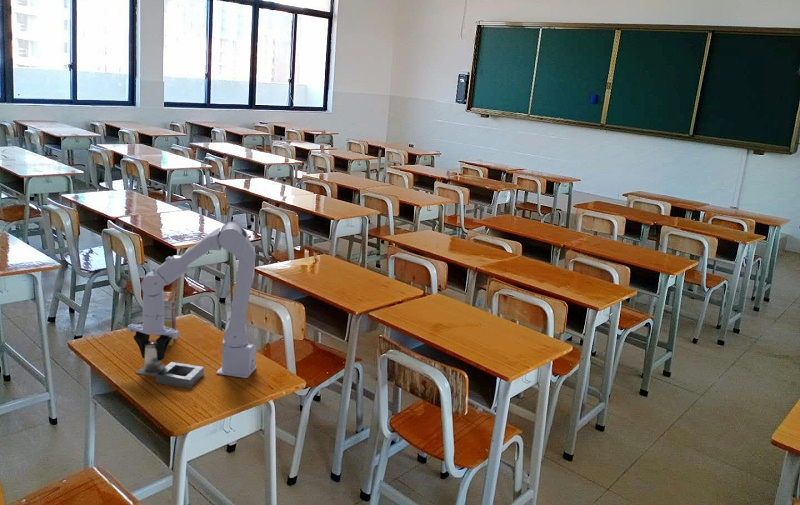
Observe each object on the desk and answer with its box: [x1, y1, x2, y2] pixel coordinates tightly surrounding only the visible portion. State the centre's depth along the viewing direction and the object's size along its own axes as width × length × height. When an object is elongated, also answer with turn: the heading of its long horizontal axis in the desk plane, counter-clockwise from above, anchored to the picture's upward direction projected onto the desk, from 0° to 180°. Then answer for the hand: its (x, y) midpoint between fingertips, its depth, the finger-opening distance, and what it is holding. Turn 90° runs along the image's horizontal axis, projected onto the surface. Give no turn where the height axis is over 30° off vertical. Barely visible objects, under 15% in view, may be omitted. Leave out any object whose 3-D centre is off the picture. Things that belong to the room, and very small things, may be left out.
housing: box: [155, 361, 205, 389], centre depth 185 cm, size 10×9×2 cm
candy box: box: [164, 291, 177, 347], centre depth 209 cm, size 9×4×15 cm, turn 11°
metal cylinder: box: [144, 339, 162, 372], centre depth 188 cm, size 4×4×8 cm
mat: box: [135, 364, 167, 378], centre depth 189 cm, size 7×7×1 cm
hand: (153, 358), depth 188 cm, fingers closed on metal cylinder, 4 cm apart
